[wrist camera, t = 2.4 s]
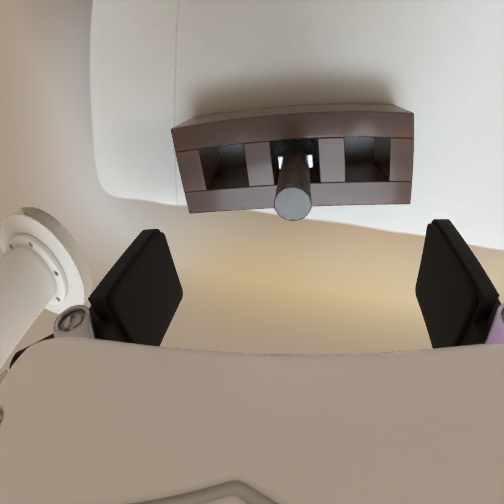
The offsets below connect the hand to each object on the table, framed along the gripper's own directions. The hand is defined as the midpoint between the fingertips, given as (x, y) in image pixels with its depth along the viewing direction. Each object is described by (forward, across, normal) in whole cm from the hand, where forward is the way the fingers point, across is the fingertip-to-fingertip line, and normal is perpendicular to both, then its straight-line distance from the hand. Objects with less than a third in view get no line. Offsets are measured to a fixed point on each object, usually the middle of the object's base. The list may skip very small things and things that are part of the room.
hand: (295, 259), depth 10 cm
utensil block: (+17, 0, 0) cm, 17 cm away
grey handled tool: (+17, 0, 0) cm, 17 cm away
